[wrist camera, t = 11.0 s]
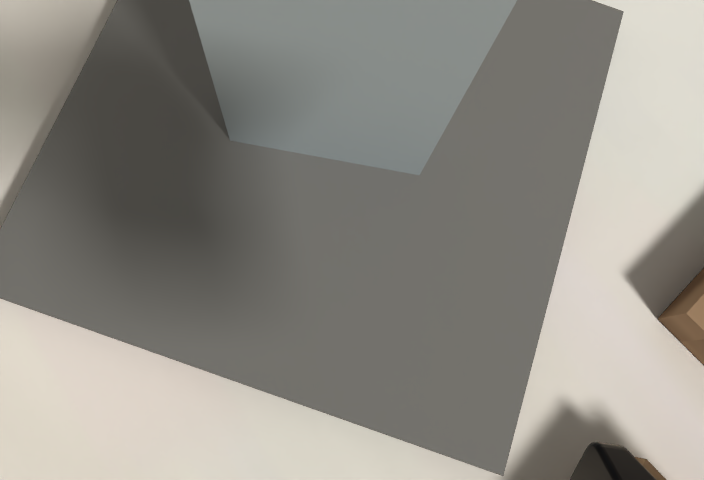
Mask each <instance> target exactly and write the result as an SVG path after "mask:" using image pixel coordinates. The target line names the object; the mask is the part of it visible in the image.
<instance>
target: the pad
mask: <svg viewBox="0 0 704 480" xmlns="http://www.w3.org/2000/svg"><path fill="white" fill-rule="evenodd" d="M622 15H623V11H621V10H618V9H615V8H612V7H609V6H606V5H604V4H601V3H598V2H595V1H592V0H517V1H516V3H515V5H514V7H513V9H512V10H511V12H510V14H509V16H508V18H507V19H506V21H505V23H504V25H503V27H502V28H501V30H500V32H499V34H498V35H497V37H496V39H495V41H494V43H493V44H492V46H491V48H490V50H489V52H488V53H487V55H486V57H485V59H484V61H483V62H482V64H481V66H480V68H479V69H478V71H477V73H476V75H475V77H474V78H473V80H472V82H471V84H470V86H469V87H468V89H467V91H466V93H465V95H464V96H463V98H462V100H461V102H460V103H459V105H458V107H457V109H456V111H455V112H454V114H453V116H452V118H451V120H450V121H449V123H448V125H447V127H446V129H445V130H444V132H443V134H442V136H441V137H440V139H439V141H438V143H437V145H436V146H435V148H434V150H433V152H432V154H431V155H430V157H429V159H428V161H427V163H426V164H425V166H424V168H423V170H422V171H421V173H420V175H415V174H409V173H404V172H398V171H393V170H388V169H382V168H377V167H371V166H366V165H360V164H355V163H350V162H344V161H339V160H333V159H328V158H322V157H317V156H312V155H306V154H301V153H295V152H290V151H284V150H279V149H274V148H268V147H263V146H257V145H252V144H246V143H241V142H236V141H230V138H229V135H228V132H227V128H226V125H225V121H224V118H223V115H222V111H221V108H220V104H219V101H218V97H217V94H216V91H215V87H214V84H213V80H212V77H211V74H210V70H209V67H208V63H207V60H206V56H205V53H204V50H203V46H202V43H201V39H200V36H199V32H198V29H197V26H196V22H195V19H194V15H193V12H192V9H191V5H190V2H189V0H117V2H116V4H115V6H114V8H113V10H112V12H111V14H110V16H109V18H108V20H107V22H106V24H105V26H104V28H103V30H102V32H101V34H100V35H99V37H98V39H97V41H96V43H95V45H94V47H93V49H92V51H91V53H90V55H89V57H88V59H87V61H86V63H85V65H84V67H83V69H82V71H81V73H80V75H79V76H78V78H77V80H76V82H75V84H74V86H73V88H72V90H71V92H70V94H69V96H68V98H67V100H66V102H65V104H64V106H63V108H62V110H61V112H60V114H59V116H58V117H57V119H56V121H55V123H54V125H53V127H52V129H51V131H50V133H49V135H48V137H47V139H46V141H45V143H44V145H43V147H42V149H41V151H40V153H39V155H38V157H37V158H36V160H35V162H34V164H33V166H32V168H31V170H30V172H29V174H28V176H27V178H26V180H25V182H24V184H23V186H22V188H21V190H20V192H19V194H18V196H17V198H16V199H15V201H14V203H13V205H12V207H11V209H10V211H9V213H8V215H7V217H6V219H5V221H4V223H3V225H2V227H1V229H0V298H1V299H4V300H6V301H9V302H12V303H15V304H18V305H21V306H23V307H26V308H29V309H32V310H35V311H38V312H40V313H43V314H46V315H49V316H52V317H55V318H57V319H60V320H63V321H66V322H69V323H71V324H74V325H77V326H80V327H83V328H86V329H88V330H91V331H94V332H97V333H100V334H103V335H105V336H108V337H111V338H114V339H117V340H120V341H122V342H125V343H128V344H131V345H134V346H137V347H139V348H142V349H145V350H148V351H151V352H154V353H156V354H159V355H162V356H165V357H168V358H171V359H173V360H176V361H179V362H182V363H185V364H187V365H190V366H193V367H196V368H199V369H202V370H204V371H207V372H210V373H213V374H216V375H219V376H221V377H224V378H227V379H230V380H233V381H236V382H238V383H241V384H244V385H247V386H250V387H253V388H255V389H258V390H261V391H264V392H267V393H270V394H272V395H275V396H278V397H281V398H284V399H287V400H289V401H292V402H295V403H298V404H301V405H304V406H306V407H309V408H312V409H315V410H318V411H320V412H323V413H326V414H329V415H332V416H335V417H337V418H340V419H343V420H346V421H349V422H352V423H354V424H357V425H360V426H363V427H366V428H369V429H371V430H374V431H377V432H380V433H383V434H386V435H388V436H391V437H394V438H397V439H400V440H403V441H405V442H408V443H411V444H414V445H417V446H420V447H422V448H425V449H428V450H431V451H434V452H437V453H439V454H442V455H445V456H448V457H451V458H453V459H456V460H459V461H462V462H465V463H468V464H470V465H473V466H476V467H479V468H482V469H485V470H487V471H490V472H493V473H496V474H499V475H502V476H503V475H504V471H505V467H506V463H507V460H508V456H509V452H510V448H511V444H512V440H513V436H514V433H515V429H516V425H517V421H518V417H519V413H520V409H521V406H522V402H523V398H524V394H525V390H526V386H527V382H528V379H529V375H530V371H531V367H532V363H533V359H534V355H535V351H536V348H537V344H538V340H539V336H540V332H541V328H542V324H543V321H544V317H545V313H546V309H547V305H548V301H549V297H550V294H551V290H552V286H553V282H554V278H555V274H556V270H557V266H558V263H559V259H560V255H561V251H562V247H563V243H564V239H565V236H566V232H567V228H568V224H569V220H570V216H571V212H572V209H573V205H574V201H575V197H576V193H577V189H578V185H579V182H580V178H581V174H582V170H583V166H584V162H585V158H586V154H587V151H588V147H589V143H590V139H591V135H592V131H593V127H594V124H595V120H596V116H597V112H598V108H599V104H600V100H601V97H602V93H603V89H604V85H605V81H606V77H607V73H608V69H609V66H610V62H611V58H612V54H613V50H614V46H615V42H616V39H617V35H618V31H619V27H620V23H621V19H622Z"/></svg>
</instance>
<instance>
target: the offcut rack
mask: <svg viewBox="0 0 704 480" xmlns="http://www.w3.org/2000/svg"><path fill="white" fill-rule="evenodd" d="M658 320H659V321H660V322H661V323H662V324H663V325H664V326H665V327H666V328H667V329H668V330H669V331H670V332H671V333H672V334H673V335H674V336H675V337H676V338H677V339H678V340H679V341H680V342H681V343H682V344H683V345H684V346H685V347H686V348H687V349H688V350H689V351H690V352H691V353H692V354H693V355H694V356H695V357H696V358H697V359H698V360H699V361H700V362H701V363H702V364H703V365H704V268H703V269H702V270H701V272H700V273H699V274H698V275H697V276H696V277H695V278H694V279H693V280H692V281H691V282H690V284H689V285H688V286H687V287H686V288H685V289H684V290H683V291H682V292H681V293H680V295H679V296H678V297H677V298H676V299H675V300H674V301H673V302H672V303H671V304H670V306H669V307H668V308H667V309H666V310H665V311H664V312H663V313H662V314H661V315H660V317H659V318H658ZM635 458H636V459H637V460H638V461H639V462H640V463H641V464H642V465H643V466H644V467H645V468H646V469H647V470H648V471H649V472H650V474H651V475H652V476H653V477H654V478H655V479H656V480H666V479H665V478H664V477H663V476H662V475H661V474H660V473H659V472H658V471H657V470H656V468H655V467H654V466H653V465H652V464H651V463H650V462H649V461H648V460H647V459H643V458H638V457H635Z"/></svg>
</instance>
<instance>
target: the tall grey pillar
mask: <svg viewBox="0 0 704 480" xmlns="http://www.w3.org/2000/svg"><path fill="white" fill-rule="evenodd" d="M516 1H517V0H189V2H190V5H191V9H192V12H193V15H194V19H195V22H196V26H197V29H198V32H199V36H200V39H201V43H202V46H203V50H204V53H205V56H206V60H207V63H208V67H209V70H210V74H211V77H212V80H213V84H214V87H215V91H216V94H217V97H218V101H219V104H220V108H221V111H222V115H223V118H224V121H225V125H226V128H227V132H228V135H229V138H230V141H236V142H241V143H246V144H252V145H257V146H263V147H268V148H274V149H279V150H284V151H290V152H295V153H301V154H306V155H312V156H317V157H322V158H328V159H333V160H339V161H344V162H350V163H355V164H360V165H366V166H371V167H377V168H382V169H388V170H393V171H398V172H404V173H409V174H415V175H420V173H421V171H422V170H423V168H424V166H425V164H426V163H427V161H428V159H429V157H430V155H431V154H432V152H433V150H434V148H435V146H436V145H437V143H438V141H439V139H440V137H441V136H442V134H443V132H444V130H445V129H446V127H447V125H448V123H449V121H450V120H451V118H452V116H453V114H454V112H455V111H456V109H457V107H458V105H459V103H460V102H461V100H462V98H463V96H464V95H465V93H466V91H467V89H468V87H469V86H470V84H471V82H472V80H473V78H474V77H475V75H476V73H477V71H478V69H479V68H480V66H481V64H482V62H483V61H484V59H485V57H486V55H487V53H488V52H489V50H490V48H491V46H492V44H493V43H494V41H495V39H496V37H497V35H498V34H499V32H500V30H501V28H502V27H503V25H504V23H505V21H506V19H507V18H508V16H509V14H510V12H511V10H512V9H513V7H514V5H515V3H516Z"/></svg>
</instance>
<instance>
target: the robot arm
mask: <svg viewBox="0 0 704 480" xmlns="http://www.w3.org/2000/svg"><path fill="white" fill-rule="evenodd" d="M570 480H656V479H655V478H654V477H653V476H652V475H651V474H650V472H649V471H648V470H647V469H646V468H645V467H644V466H643V465H642V464H641V463H640V462H639V461H638V460H637V459H636V458H635V457H634V456H633V455H632V454H631V453H630V452H629V451H628V450H627V449H626V448H624V447H622V446H620V445H614V444H608V443H602V442H593V443H591V444H590V445H589V446H588V447H587V449H586V450H585V452H584V454H583V456H582V458H581V460H580V462H579V463H578V465H577V467H576V469H575V471H574V473H573V475H572V477H571V479H570Z"/></svg>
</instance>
